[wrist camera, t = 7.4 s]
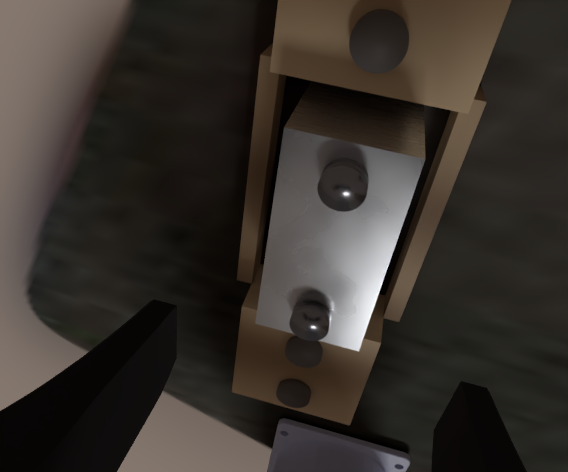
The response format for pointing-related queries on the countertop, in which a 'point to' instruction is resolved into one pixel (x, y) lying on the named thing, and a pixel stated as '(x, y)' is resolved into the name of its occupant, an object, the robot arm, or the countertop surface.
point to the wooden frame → (447, 162)
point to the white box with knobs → (338, 211)
